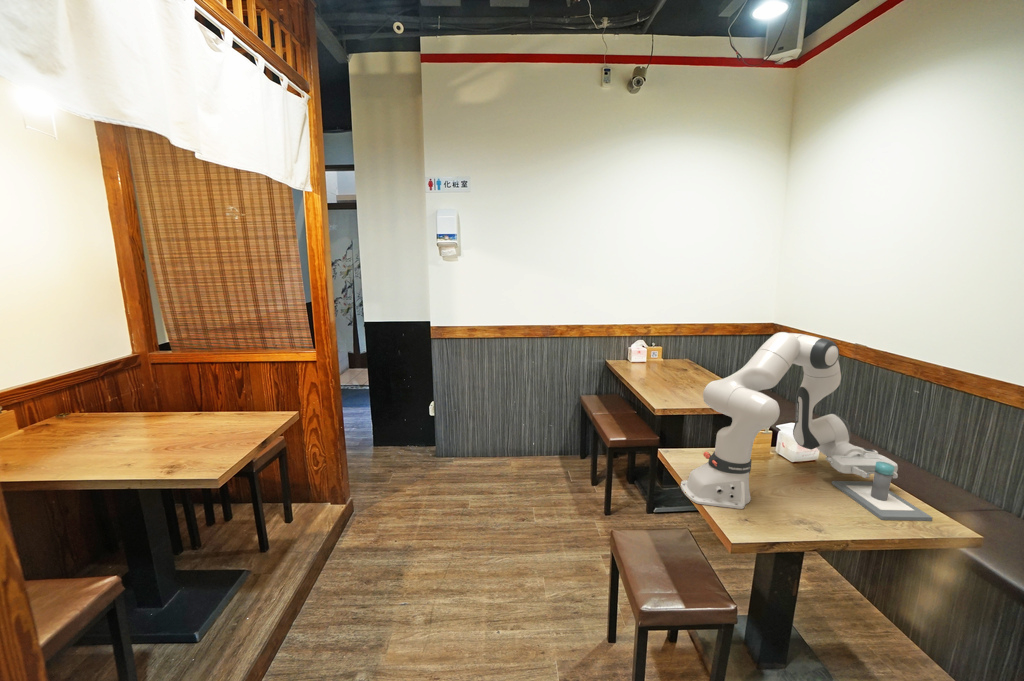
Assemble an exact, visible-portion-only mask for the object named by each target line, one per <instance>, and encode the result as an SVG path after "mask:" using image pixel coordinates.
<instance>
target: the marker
mask: <svg viewBox="0 0 1024 681" xmlns="http://www.w3.org/2000/svg"><path fill="white" fill-rule="evenodd" d="M894 468H895V467H894V466H893V465H891V464H889V463H886V462H876V465H875V474H873V480H872V482H873V484H872V490H871V497H873V498H875V499H877V500H881V501H886V500H887V498H888V493H889V490H890V487H891V482H892V479H893V478H892V475H893V473H894Z"/></svg>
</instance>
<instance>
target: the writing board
mask: <svg viewBox="0 0 1024 681" xmlns="http://www.w3.org/2000/svg"><path fill="white" fill-rule="evenodd" d="M872 484H873V481H858V480H857V481H856V480H853V481H852V480H851V481H850V480H831V485H833V486H834V487H835V488H837V490H839V491H840V492H842V493H843V494H845V495H846V496H848V497H849V498H850V499H852V500H853V501H855V502H856V503H858V504H859V505H860V506H861V507H863V508H865V509H866V510H867V511H868V512H870V513H872V515H874V516H875V517H877V518H878V519H879V520H880V521H916V522H917V521H918V522H920V521H921V522H925V521H926V522H931V521H933V518H934V517H933V516H931V515H929V514H928V513H927V512H925V511H923V510H922V509H920V508H919V507H917V506H915V505H914V504H912V503H911V502H909V501H907V500H905V499H904V498H902V496H900V495H898V494H897V493H895V492H893V491H892V490H890V489H889V493H888V498H887V500H886V501H881V500H877V499H875V498H873V497H871V490H872Z"/></svg>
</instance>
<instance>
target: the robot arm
mask: <svg viewBox="0 0 1024 681" xmlns="http://www.w3.org/2000/svg"><path fill="white" fill-rule="evenodd" d="M839 356H840V349H839V347H838V345H837V344H836V342H834V341H832V340H831V339H828V338H823V337H822V338H821V337H817V336H814V335H808V334H804V333H796V332H787V331H780V332H776V333H774V334H773V335H771V337H769V338H768V339H767V340H766V341H765V342H764V343H763V344H762V345H761V346H760V347H759V348H758V349H757V351H756V352H754V354H753V355H752V356H751V358H750V359H749V360H748V361H747V363H746V364H745V365H743V367H742V368H740V369H739V370H737V371H735V372H734V373H733V374H730V375H729V376H727V377H723V378H721V379H718V380H712V381H710V382H709V383H708V384H706V386H705V387H704V389H703V392H702V399H703V402H704V404H705V405H707V406H708V407H709V408H710V409H712V410H714V411H716V412H717V413H720V414H723V415H724V416H728V417H730V418H731V421H732V422H731V424H730V425H728V426H725V427H722V428H720V429H719V430H718V431H717V433H716V439H715V447H714V451H713V452H712V454H710V453H709V451H704V452H703V457H705V459H707V460H708V461H707V462H706V463H703V464H702V465H700V466H698V467H696V468H694V469H692V470H691V471H690V473H689V476H688V478H687V479H685V480H681V482H680V489H681V492H683V494H684V495H685V496H686V497H687V498H688V499H689V500H690V501H692V502H693V503H695V504H698V505H705V506H714V507H722V508H731V509H738V510H743V509H745V507H746V505H747V504H749V503H750V502H751V500H752V497H751V493H750V473H751V470H752V462H753V460H752V459H751V457H752V451H753V446H754V441H755V439H756V437H757V435H758V434H759V433H760V432H761V431H762V430H764V429H767V428H769V427H771V426H773V425H774V424H775V423H777V421H778V419H779V417H780V415H781V414H780V411H781V410H780V406H779V403H778V401H777V400H775V399H774V398H772V397H770V396H769V395H767V394H765V393H763V392H761V391H763V390H764V391H765V390H769V389H772V388H774V387H776V386H777V385H778V384H779V382H780V381H781V380H782V378H783V377H784V376H785V374H787V372H788V371H789V370H790V368H791V367H792V365H796V366H799V367H800V366H801V367H802V371H803V378H802V381H801V383H800V386H799V387H798V389H797V391H796V395H795V417H794V420H795V421H794V425H793V429H792V430H793V431H792V435H793V438H794V440H795V441H794V442H796V443H797V445H799V446H800V447H802V448H805V449H806V450H811V451H812V450H815V449H817V450H818V451H819V452H820V453H822V454H823V455H824V456H825V461H826V462H828V463H830V466H831V467H832V468H833V469H834V470H836V471H837V472H839V473H842V474H854V475H857V476H860V477H862V478H864V479H865V478H867V479H869V478H870V476H871V475H874V474H875V465H876V462H886V463H889V464H891V465H893V466H894V467H895V468H894V473H893V475H892V478H891V479H898V477H899V476H898V473H897V472H898V470H899V466H898V463H896V462H895V461H893V460H892V459H890V458H888V457H887V456H884V455H882V454H879V452H878V451H877V450H876V449H870V448H866V447H865V448H864V447H860V446H857V445H854V444H852V443H850V440H851V432H852V431H851V427H850V424H849V422H848V421H847V420H846V419H844V417H842V416H840V415H838V414H835V413H830V414H826V415H823V416H819V417H818V418H814V419H813V414H814V413H813V411H814V408H815V406H816V405H817V404H818V403H819V402H820V401H821V400H822V399H824V398H825V397H827V396H829V395H830V394H832V393H834V392H835V391H836V390H837V388H838V387H839V386H840V385H841V381H842V380H841V379H842V373H841V366H840V362H839V358H840V357H839ZM685 492H686V493H685Z"/></svg>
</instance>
